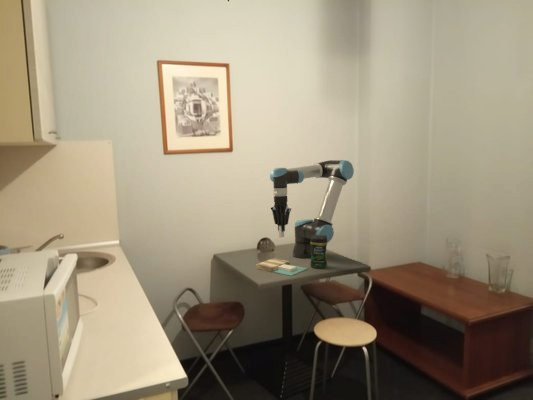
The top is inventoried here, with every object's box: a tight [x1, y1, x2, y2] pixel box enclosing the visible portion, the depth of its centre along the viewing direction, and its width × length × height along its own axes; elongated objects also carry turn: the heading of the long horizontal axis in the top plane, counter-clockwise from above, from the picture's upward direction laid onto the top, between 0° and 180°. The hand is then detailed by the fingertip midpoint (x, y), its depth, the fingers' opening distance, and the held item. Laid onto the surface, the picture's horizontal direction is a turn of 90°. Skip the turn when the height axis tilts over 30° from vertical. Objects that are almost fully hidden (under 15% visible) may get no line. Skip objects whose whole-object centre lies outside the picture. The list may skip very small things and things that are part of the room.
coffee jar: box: [310, 235, 329, 269], centre depth 230 cm, size 10×8×19 cm
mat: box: [272, 264, 309, 277], centre depth 225 cm, size 16×13×1 cm
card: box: [278, 264, 297, 272], centre depth 226 cm, size 6×9×2 cm, turn 50°
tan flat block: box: [255, 258, 290, 273], centre depth 233 cm, size 16×12×2 cm
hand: (281, 236), depth 227 cm, fingers closed
